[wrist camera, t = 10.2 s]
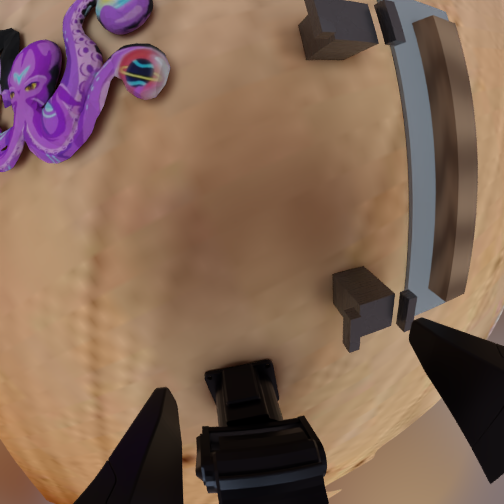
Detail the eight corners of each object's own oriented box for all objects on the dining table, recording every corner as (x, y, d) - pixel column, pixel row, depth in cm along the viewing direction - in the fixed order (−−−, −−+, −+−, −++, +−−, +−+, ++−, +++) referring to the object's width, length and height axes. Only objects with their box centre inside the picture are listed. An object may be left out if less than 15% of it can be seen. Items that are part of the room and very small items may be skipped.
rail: (446, 280, 25) (464, 293, 23) (428, 288, 25) (445, 302, 22) (434, 29, 15) (455, 23, 13) (411, 23, 15) (432, 15, 12)
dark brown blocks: (374, 291, 25) (411, 328, 19) (319, 307, 24) (349, 352, 18) (375, 262, 23) (417, 296, 18) (318, 277, 23) (350, 320, 17)
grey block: (357, 61, 17) (406, 42, 11) (288, 60, 16) (322, 31, 11) (349, 28, 16) (393, 1, 10) (281, 25, 15) (310, -13, 10)
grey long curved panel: (456, 294, 27) (458, 295, 27) (400, 317, 27) (403, 320, 26) (442, 13, 15) (445, 12, 15) (374, -8, 14) (377, -10, 14)
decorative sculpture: (176, 162, 17) (181, -20, 13) (164, 162, 14) (174, -47, 9) (-37, 204, 16) (-29, 62, 11) (-62, 212, 12) (-51, 56, 7)
